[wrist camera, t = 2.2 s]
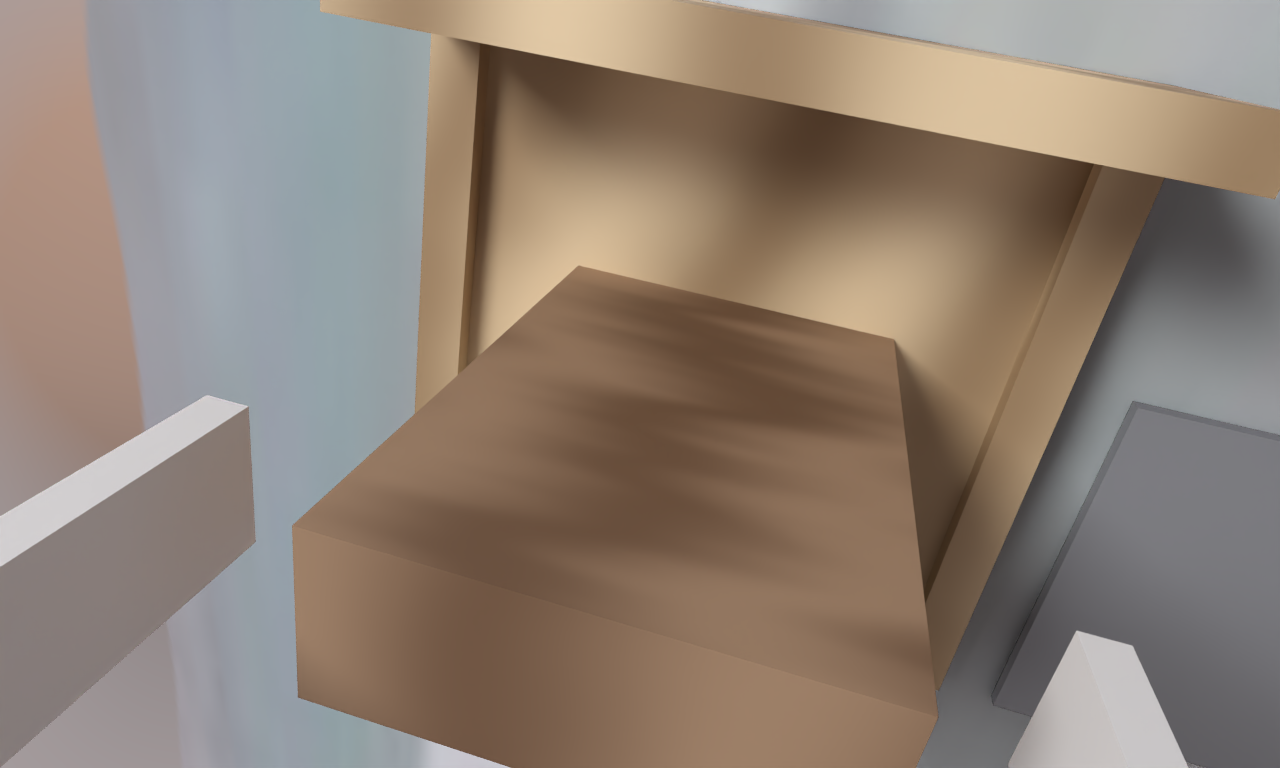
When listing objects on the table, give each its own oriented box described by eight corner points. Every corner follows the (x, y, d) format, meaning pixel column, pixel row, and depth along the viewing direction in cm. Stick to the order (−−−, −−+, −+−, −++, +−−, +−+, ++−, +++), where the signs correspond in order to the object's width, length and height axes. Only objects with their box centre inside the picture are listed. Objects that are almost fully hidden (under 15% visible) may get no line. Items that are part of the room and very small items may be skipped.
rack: (1174, 85, 17) (1315, 118, 12) (933, 650, 24) (955, 829, 19) (465, -43, 20) (319, -64, 14) (433, 508, 27) (327, 632, 21)
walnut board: (893, 339, 20) (939, 717, 9) (859, 445, 21) (863, 883, 10) (578, 265, 21) (292, 526, 10) (564, 370, 22) (297, 697, 12)
